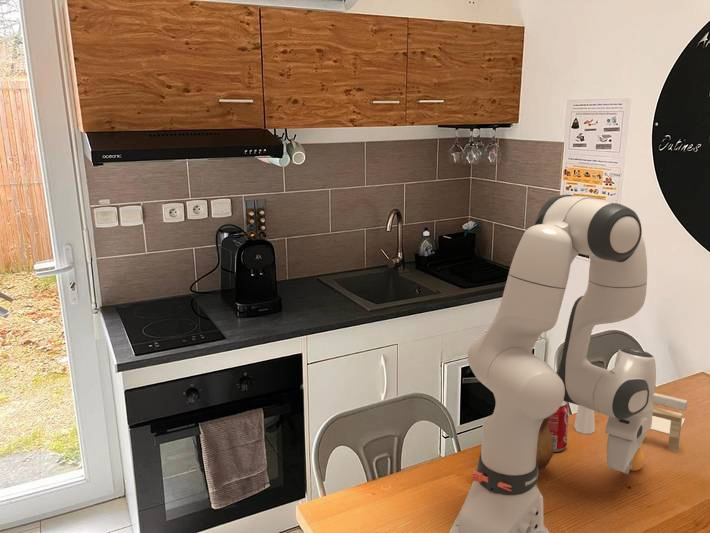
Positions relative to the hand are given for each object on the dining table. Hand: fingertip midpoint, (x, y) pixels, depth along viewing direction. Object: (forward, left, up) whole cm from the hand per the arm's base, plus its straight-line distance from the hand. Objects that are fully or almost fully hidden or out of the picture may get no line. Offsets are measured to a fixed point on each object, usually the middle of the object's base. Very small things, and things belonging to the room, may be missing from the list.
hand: (625, 470), depth 137 cm
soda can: (+5, +19, -3) cm, 20 cm away
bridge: (+22, 0, -3) cm, 22 cm away
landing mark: (+36, 0, -3) cm, 36 cm away
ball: (+6, 0, 0) cm, 6 cm away
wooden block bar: (+49, 0, -3) cm, 49 cm away
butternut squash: (-10, +21, -3) cm, 24 cm away
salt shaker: (+19, +15, -3) cm, 25 cm away
